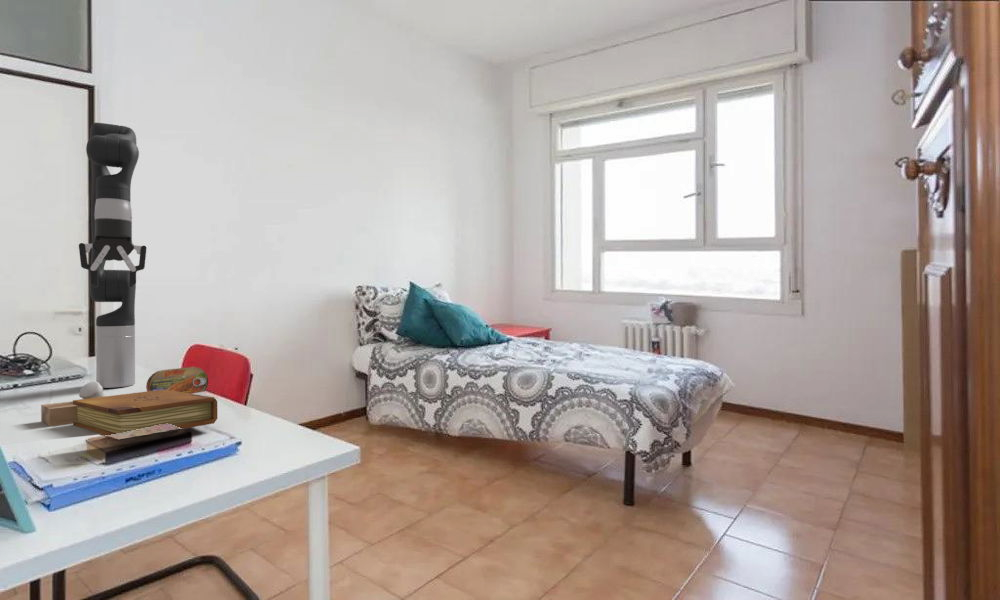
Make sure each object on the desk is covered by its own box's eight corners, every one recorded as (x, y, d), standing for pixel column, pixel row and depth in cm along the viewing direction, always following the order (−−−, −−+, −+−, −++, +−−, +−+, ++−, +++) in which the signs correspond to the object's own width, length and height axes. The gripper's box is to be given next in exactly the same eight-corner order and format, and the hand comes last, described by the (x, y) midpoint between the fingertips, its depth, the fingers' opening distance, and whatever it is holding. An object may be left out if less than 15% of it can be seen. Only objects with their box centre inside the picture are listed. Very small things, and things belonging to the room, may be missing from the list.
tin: (149, 404, 144) (149, 371, 144) (144, 402, 146) (144, 370, 146) (209, 396, 157) (209, 365, 157) (203, 395, 158) (203, 365, 158)
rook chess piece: (98, 377, 129) (118, 397, 135) (76, 387, 128) (98, 407, 133) (100, 390, 126) (120, 410, 132) (78, 400, 125) (100, 420, 131)
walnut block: (41, 423, 123) (41, 404, 123) (85, 417, 129) (85, 399, 129) (49, 428, 118) (49, 408, 118) (95, 422, 124) (95, 403, 124)
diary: (217, 423, 121) (217, 396, 121) (118, 441, 106) (118, 410, 106) (167, 412, 134) (166, 388, 134) (72, 426, 119) (72, 399, 119)
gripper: (147, 223, 146) (147, 287, 146) (78, 219, 138) (78, 287, 138) (148, 219, 140) (148, 286, 140) (75, 214, 132) (76, 286, 132)
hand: (113, 286), depth 139 cm, fingers open, 6 cm apart
